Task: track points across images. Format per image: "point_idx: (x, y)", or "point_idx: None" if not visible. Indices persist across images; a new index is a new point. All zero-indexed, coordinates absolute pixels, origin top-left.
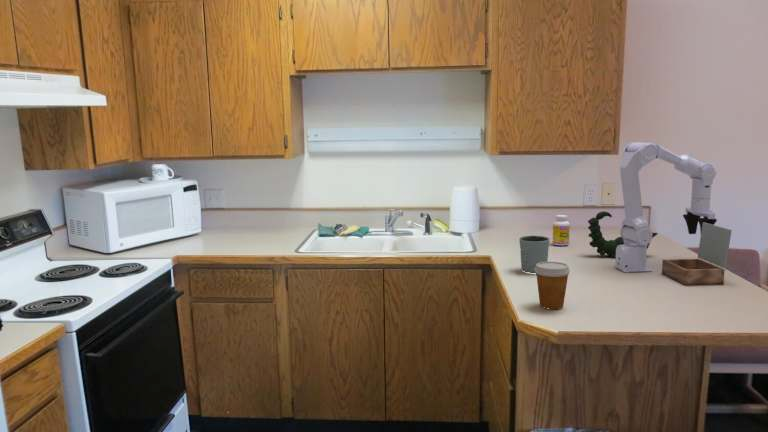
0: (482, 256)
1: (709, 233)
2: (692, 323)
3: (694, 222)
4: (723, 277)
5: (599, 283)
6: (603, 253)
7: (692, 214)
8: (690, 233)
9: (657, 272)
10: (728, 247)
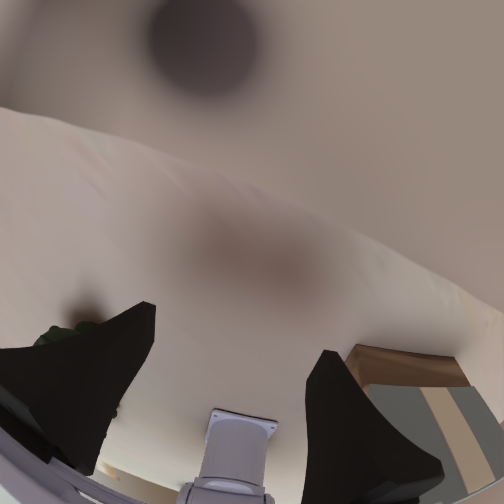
0: (112, 468)
1: (444, 472)
2: None
3: (103, 385)
4: (460, 370)
5: (300, 482)
6: (116, 415)
7: (62, 458)
8: (151, 340)
9: (290, 415)
10: (500, 427)
